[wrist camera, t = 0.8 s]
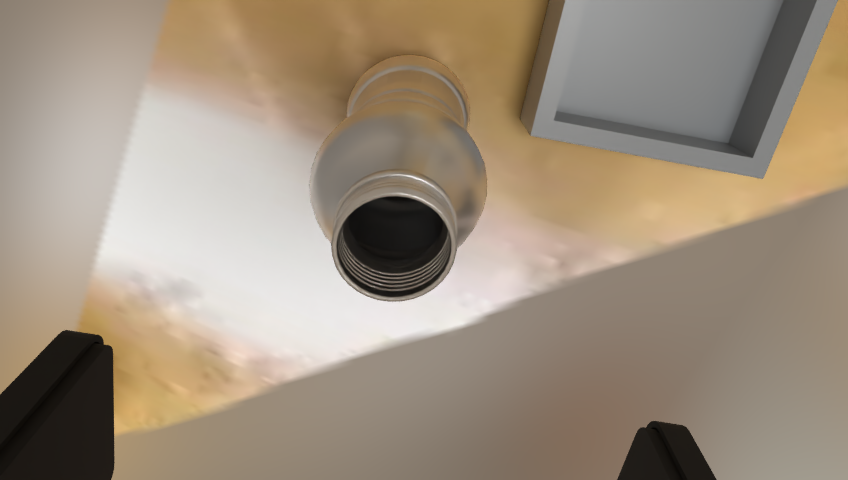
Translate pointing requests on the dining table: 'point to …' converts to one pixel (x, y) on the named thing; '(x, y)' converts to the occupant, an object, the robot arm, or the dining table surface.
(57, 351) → the robot arm
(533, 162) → the dining table surface
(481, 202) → the plastic bottle
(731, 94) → the grey bin
